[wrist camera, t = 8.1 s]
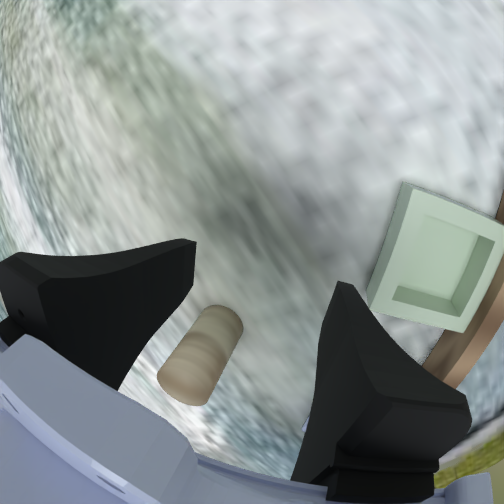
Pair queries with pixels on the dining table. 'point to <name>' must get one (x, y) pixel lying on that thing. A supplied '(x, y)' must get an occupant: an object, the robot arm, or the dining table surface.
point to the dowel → (201, 356)
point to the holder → (435, 260)
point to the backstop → (470, 332)
